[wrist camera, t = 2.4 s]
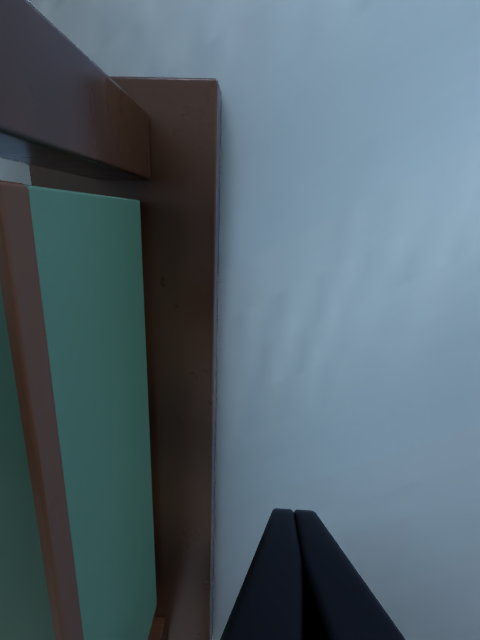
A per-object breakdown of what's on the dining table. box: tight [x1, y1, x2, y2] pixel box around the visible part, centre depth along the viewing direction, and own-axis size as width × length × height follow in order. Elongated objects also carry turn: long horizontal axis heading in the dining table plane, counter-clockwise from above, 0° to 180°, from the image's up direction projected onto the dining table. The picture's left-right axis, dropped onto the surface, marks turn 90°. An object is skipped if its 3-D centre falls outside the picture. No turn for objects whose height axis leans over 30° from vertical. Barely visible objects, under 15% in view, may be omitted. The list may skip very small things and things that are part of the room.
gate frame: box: [0, 0, 221, 640], centre depth 9 cm, size 20×5×7 cm, turn 178°
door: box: [0, 181, 157, 640], centre depth 9 cm, size 15×3×5 cm, turn 178°
